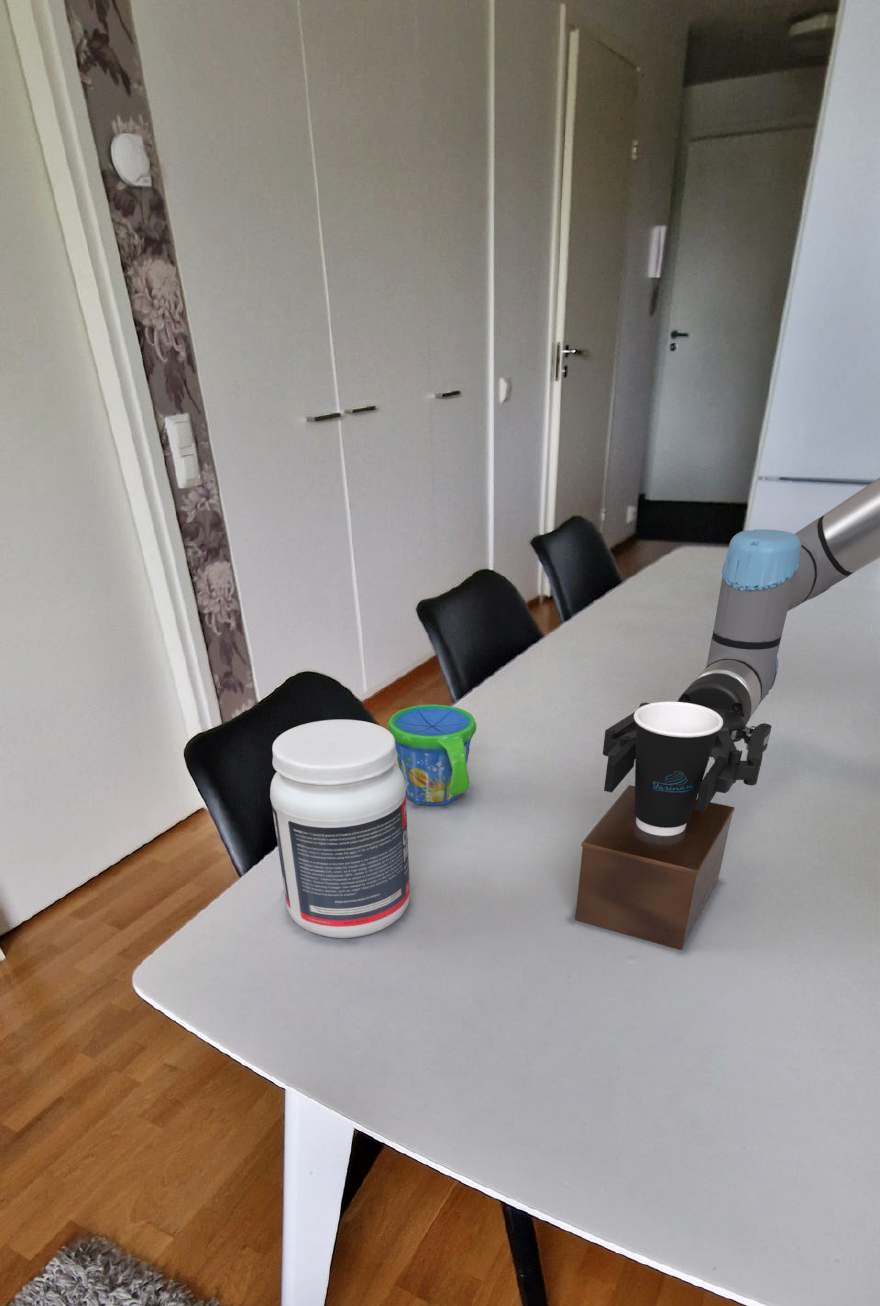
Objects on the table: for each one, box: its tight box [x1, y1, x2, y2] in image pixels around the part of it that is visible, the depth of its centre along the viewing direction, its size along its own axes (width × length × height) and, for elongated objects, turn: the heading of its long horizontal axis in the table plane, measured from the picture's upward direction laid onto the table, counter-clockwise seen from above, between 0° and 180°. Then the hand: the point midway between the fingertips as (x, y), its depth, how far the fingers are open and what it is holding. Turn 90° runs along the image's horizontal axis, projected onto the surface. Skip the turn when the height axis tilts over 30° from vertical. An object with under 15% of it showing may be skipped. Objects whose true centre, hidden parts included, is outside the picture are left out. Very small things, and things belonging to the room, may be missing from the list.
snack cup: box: [387, 704, 477, 807], centre depth 106 cm, size 16×10×10 cm
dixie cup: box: [633, 701, 723, 836], centre depth 80 cm, size 8×8×11 cm
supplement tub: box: [269, 719, 411, 939], centre depth 82 cm, size 13×13×18 cm
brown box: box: [574, 784, 736, 951], centre depth 86 cm, size 11×14×9 cm
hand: (654, 787), depth 76 cm, fingers closed on dixie cup, 8 cm apart
